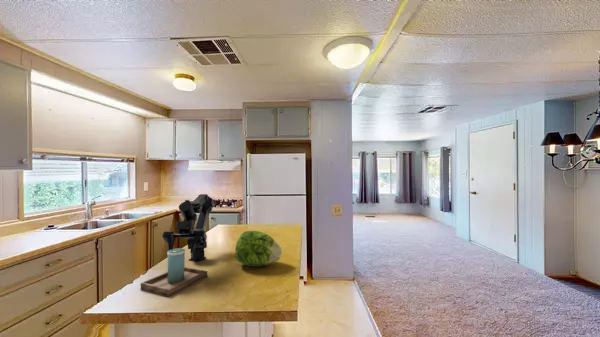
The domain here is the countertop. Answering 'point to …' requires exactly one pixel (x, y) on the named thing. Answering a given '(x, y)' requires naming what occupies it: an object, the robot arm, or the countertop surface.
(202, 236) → the robot arm
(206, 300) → the countertop surface
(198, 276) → the tray
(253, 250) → the lettuce
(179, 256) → the cup
